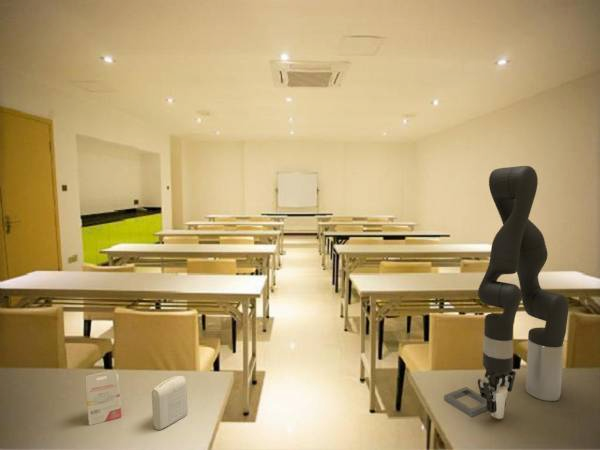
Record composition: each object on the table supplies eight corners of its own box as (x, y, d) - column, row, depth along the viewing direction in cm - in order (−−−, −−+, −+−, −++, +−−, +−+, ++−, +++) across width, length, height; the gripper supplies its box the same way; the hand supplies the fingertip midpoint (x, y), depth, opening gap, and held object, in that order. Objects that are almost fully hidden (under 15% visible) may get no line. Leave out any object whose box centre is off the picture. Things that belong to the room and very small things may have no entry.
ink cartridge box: (121, 408, 115) (118, 363, 114) (121, 417, 111) (118, 370, 109) (89, 416, 112) (85, 369, 110) (88, 426, 107) (84, 376, 106)
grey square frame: (466, 391, 122) (466, 386, 122) (494, 407, 113) (494, 402, 113) (444, 399, 117) (444, 395, 117) (471, 416, 108) (471, 411, 108)
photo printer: (181, 409, 115) (179, 370, 113) (190, 414, 112) (188, 374, 111) (150, 427, 106) (148, 385, 105) (159, 432, 104) (157, 390, 103)
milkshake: (498, 408, 110) (499, 376, 109) (509, 419, 105) (510, 385, 104) (483, 409, 110) (484, 376, 109) (493, 420, 105) (494, 386, 104)
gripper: (501, 341, 112) (499, 395, 114) (469, 352, 105) (467, 409, 107) (526, 350, 105) (524, 408, 107) (493, 363, 99) (492, 424, 101)
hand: (496, 408), depth 107 cm, fingers closed on milkshake, 4 cm apart
